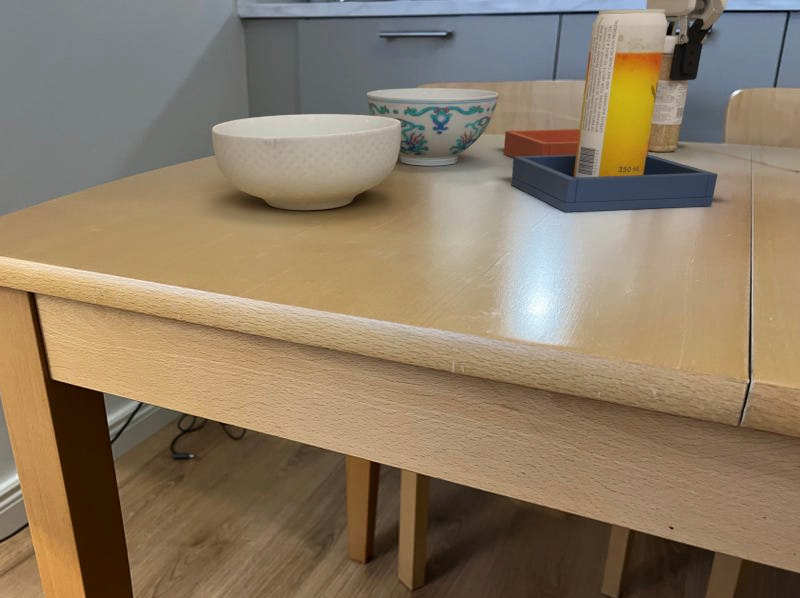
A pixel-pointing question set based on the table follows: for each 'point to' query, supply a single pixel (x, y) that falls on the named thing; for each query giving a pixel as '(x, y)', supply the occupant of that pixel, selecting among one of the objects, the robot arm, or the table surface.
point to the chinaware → (435, 120)
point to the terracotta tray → (542, 142)
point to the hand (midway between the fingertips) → (670, 76)
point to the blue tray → (613, 185)
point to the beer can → (620, 92)
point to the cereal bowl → (307, 157)
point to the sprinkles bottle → (667, 104)
